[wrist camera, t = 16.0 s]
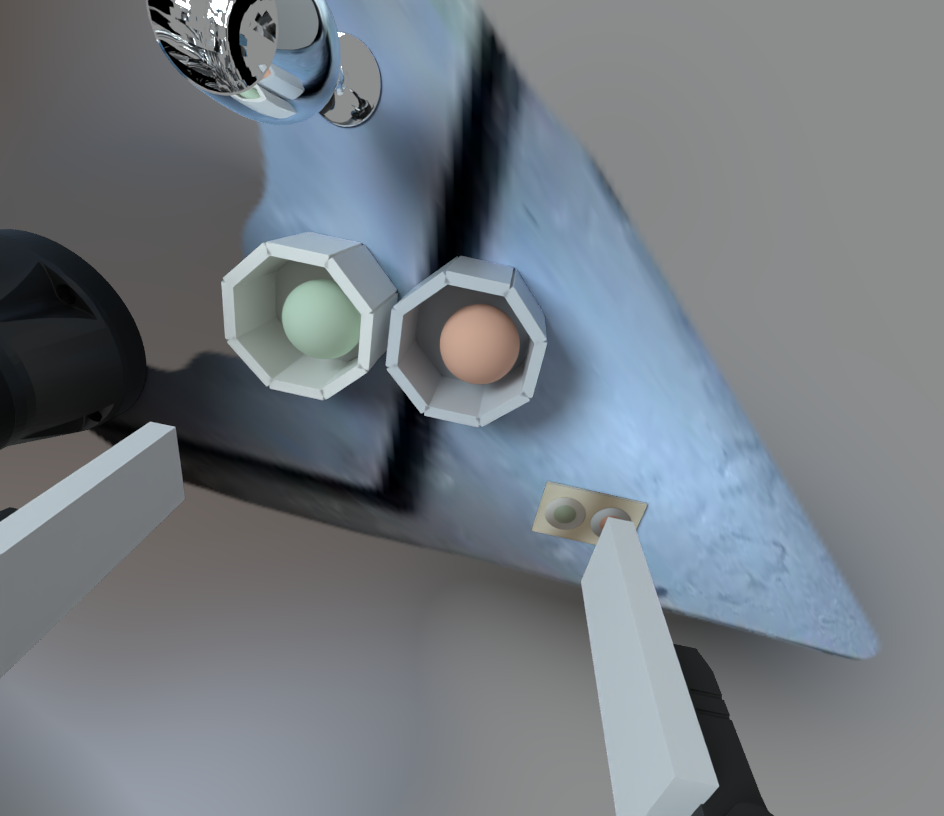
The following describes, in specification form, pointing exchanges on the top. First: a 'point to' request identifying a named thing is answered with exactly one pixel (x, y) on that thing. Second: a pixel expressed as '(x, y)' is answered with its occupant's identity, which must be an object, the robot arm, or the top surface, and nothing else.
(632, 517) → the card
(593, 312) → the top surface
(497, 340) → the terracotta ball
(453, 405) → the grey octagonal bowl
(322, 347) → the sage ball
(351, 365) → the white octagonal bowl
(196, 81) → the wineglass
